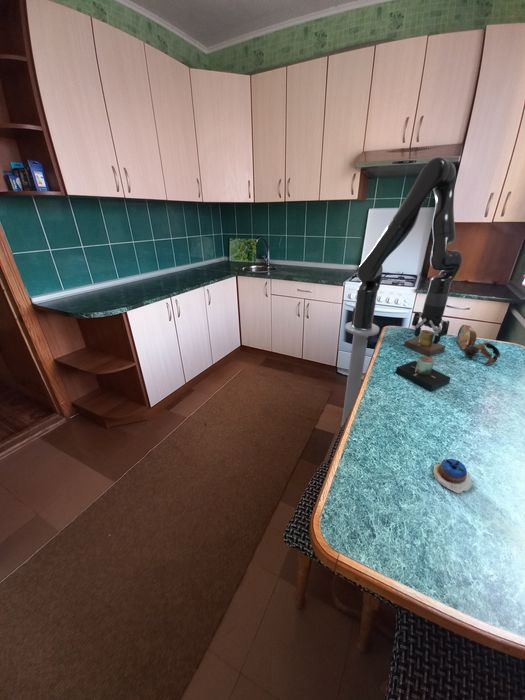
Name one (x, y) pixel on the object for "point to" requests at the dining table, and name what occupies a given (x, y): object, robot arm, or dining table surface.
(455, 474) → the dessert
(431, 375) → the control box
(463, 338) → the tin
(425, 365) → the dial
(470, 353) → the brown black curved band
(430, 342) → the dial
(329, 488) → the dining table surface
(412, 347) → the walnut box
